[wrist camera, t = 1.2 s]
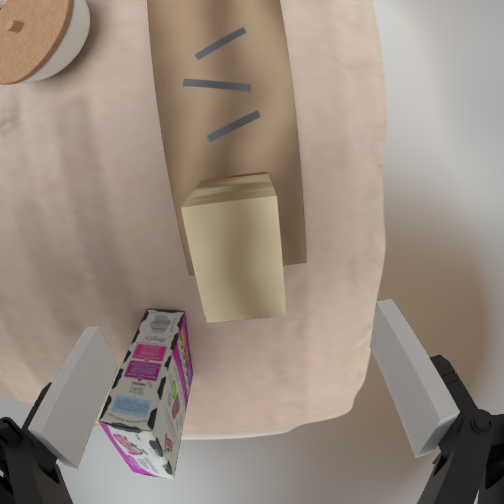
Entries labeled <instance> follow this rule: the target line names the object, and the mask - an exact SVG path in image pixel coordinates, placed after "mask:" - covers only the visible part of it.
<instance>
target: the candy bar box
mask: <svg viewBox="0 0 504 504" xmlns="http://www.w3.org/2000/svg"><path fill="white" fill-rule="evenodd" d="M192 376H193V372H192V366H191V359H190V352H189V345H188V337H187V329H186V320H185V312H181V311H165V310H156V309H147V310H146V313H145V315H144V317H143V319H142V321H141V324H140V326H139V328H138V330H137V332H136V334H135V337H134V339H133V341H132V343H131V345H130V347H129V349H128V352H127V354H126V357H125V359H124V361H123V363H122V365H121V368H120V370H119V372H118V375H117V377H116V379H115V382H114V384H113V386H112V389H111V391H110V394H109V396H108V398H107V401H106V403H105V406H104V408H103V411H102V414H101V416H100V418H99V420H98V421H99V423H100V425H101V426H102V428H103V429H104V431H105V432H106V434H107V435H108V437H109V438H110V440H111V441H112V443H113V444H114V446H115V447H116V449H117V450H118V452H119V453H120V454H121V456H122V457H123V459H124V460H125V461H126V463H127V464H128V465H129V467H130V468H131V470H132V471H133V472H136V473H140V474H144V475H149V476H155V477H162V478H168V479H174V476H175V470H176V463H177V458H178V452H179V447H180V441H181V435H182V430H183V424H184V418H185V413H186V408H187V402H188V397H189V392H190V386H191V381H192Z"/></svg>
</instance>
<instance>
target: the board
mask: <svg viewBox="0 0 504 504" xmlns="http://www.w3.org/2000/svg"><path fill="white" fill-rule="evenodd" d="M147 7H148V21H149V33H150V44H151V55H152V64H153V73H154V82H155V90H156V97H157V105H158V112H159V119H160V126H161V132H162V139H163V145H164V151H165V157H166V163H167V169H168V174H169V180H170V185H171V191H172V196H173V201H174V206H175V211H176V216H177V221H178V226H179V231H180V235H181V240H182V245H183V249H184V254H185V258H186V262H187V267H188V271H189V275H195V272H194V268H193V263H192V259H191V254H190V250H189V245H188V240H187V235H186V231H185V226H184V221H183V216H182V210H181V207H182V206H183V204H184V203H185V202H186V200H187V199H188V198H189V196H190V195H191V194H192V192H193V191H194V190H195V188H196V187H197V186H198V184H199V183H200V182H201V180H206V179H213V178H220V177H227V176H235V175H243V174H252V173H261V172H268V174H269V176H270V179H271V182H272V184H273V187H274V190H275V193H276V195H277V205H278V215H279V226H280V238H281V249H282V262H283V265H290V264H299V263H306V241H305V222H304V206H303V192H302V178H301V166H300V154H299V143H298V133H297V123H296V114H295V105H294V96H293V88H292V79H291V72H290V64H289V57H288V50H287V43H286V36H285V30H284V23H283V17H282V11H281V5H280V0H147Z"/></svg>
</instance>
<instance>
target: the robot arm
mask: <svg viewBox="0 0 504 504" xmlns="http://www.w3.org/2000/svg"><path fill="white" fill-rule="evenodd" d="M370 348H371V350H372V352H373V354H374V357H375V359H376V361H377V364H378V366H379V368H380V370H381V373H382V375H383V377H384V379H385V382H386V384H387V387H388V389H389V391H390V394H391V396H392V399H393V401H394V404H395V406H396V409H397V411H398V413H399V416H400V419H401V421H402V424H403V426H404V429H405V432H406V434H407V437H408V439H409V442H410V445H411V448H412V450H413V453H414V456H415V458H418V457H421V456H423V455H426V454H429V453H432V452H433V451H434V450H435V448H436V447H437V446H438V445H439V447H440V450H441V452H440V454H439V455H438V456H437V457H436V459H435V460H434V462H433V464H435V463H436V464H435V466H434V468H433V471H432V473H431V475H430V478H429V480H428V482H427V485H426V487H425V489H424V491H423V493H422V495H421V497H420V499H419V501H418V503H417V504H474V501H475V498H476V495H477V492H478V489H479V495H478V503H477V504H504V414H500V415H491V414H490V413H489V412H487V411H485V410H482V409H478V408H477V406H476V405H475V403H474V402H473V400H472V398H471V396H470V395H469V393H468V391H467V390H466V388H465V386H464V385H463V383H462V381H461V380H460V378H459V376H458V375H457V373H455V370H454V368H453V367H452V365H451V364H450V362H449V361H448V360H446V359H445V358H444V357H442V356H441V355H437V356H433V357H430V358H429V357H428V355H427V353H426V352H425V350H424V348H423V347H422V346H421V344H420V342H419V340H418V339H417V337H416V336H415V334H414V333H413V331H412V329H411V328H410V326H409V325H408V323H407V322H406V320H405V319H404V317H403V316H402V314H401V313H400V311H399V310H398V308H397V307H396V305H395V304H394V302H393V301H392V299H388V300H382V301H376V308H375V315H374V323H373V330H372V337H371V343H370ZM117 368H118V365H117V363H116V361H115V359H114V358H113V356H112V354H111V352H110V350H109V348H108V346H107V344H106V341H105V339H104V337H103V335H102V333H101V331H100V329H99V327H86V328H85V330H84V332H83V333H82V335H81V336H80V338H79V339H78V341H77V342H76V344H75V346H74V347H73V349H72V351H71V352H70V354H69V355H68V357H67V359H66V360H65V362H64V364H63V365H62V367H61V369H60V370H59V372H58V374H57V376H56V377H55V379H54V381H53V383H51V382H50V383H49V384H48V385H47V386H46V387H45V388H44V389H43V390H42V391H41V393H40V395H39V397H38V399H37V400H36V402H35V404H34V406H33V407H32V409H31V411H30V413H29V415H28V417H27V419H26V421H25V423H24V425H23V427H22V428H21V429H20V428H19V426H18V425H17V424H16V423H15V422H14V421H13V420H12V419H11V418H9V417H3V418H1V419H0V470H1V471H2V472H3V473H4V475H3V477H1V476H0V504H73V502H72V500H71V498H70V495H69V493H68V490H67V488H66V485H65V482H64V480H63V477H62V474H61V472H60V469H59V467H58V465H57V464H56V460H57V459H59V460H60V461H61V462H62V463H63V464H64V465H67V466H70V467H73V468H77V469H78V467H79V464H80V461H81V459H82V456H83V453H84V450H85V447H86V445H87V442H88V439H89V437H90V434H91V431H92V429H93V426H94V424H95V421H96V418H97V416H98V413H99V411H100V408H101V406H102V403H103V401H104V399H105V396H106V394H107V391H108V389H109V387H110V384H111V382H112V379H113V377H114V375H115V373H116V370H117Z"/></svg>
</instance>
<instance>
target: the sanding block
mask: <svg viewBox="0 0 504 504" xmlns="http://www.w3.org/2000/svg"><path fill="white" fill-rule="evenodd" d="M181 210H182V216H183V221H184V226H185V231H186V235H187V240H188V245H189V250H190V254H191V259H192V263H193V268H194V272H195V277H196V281H197V285H198V289H199V294H200V298H201V302H202V306H203V310H204V314H205V318H206V322H207V323H214V322H226V321H238V320H248V319H258V318H268V317H277V316H286V301H285V287H284V274H283V262H282V249H281V238H280V226H279V215H278V205H277V195H276V193H275V190H274V187H273V184H272V182H271V179H270V176H269V174H268V172H261V173H252V174H243V175H235V176H227V177H220V178H213V179H206V180H201V182H200V183H199V184H198V186H197V187H196V188H195V190H194V191H193V192H192V194H191V195H190V196H189V198H188V199H187V200H186V202H185V203H184V204H183V206H182V207H181Z"/></svg>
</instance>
